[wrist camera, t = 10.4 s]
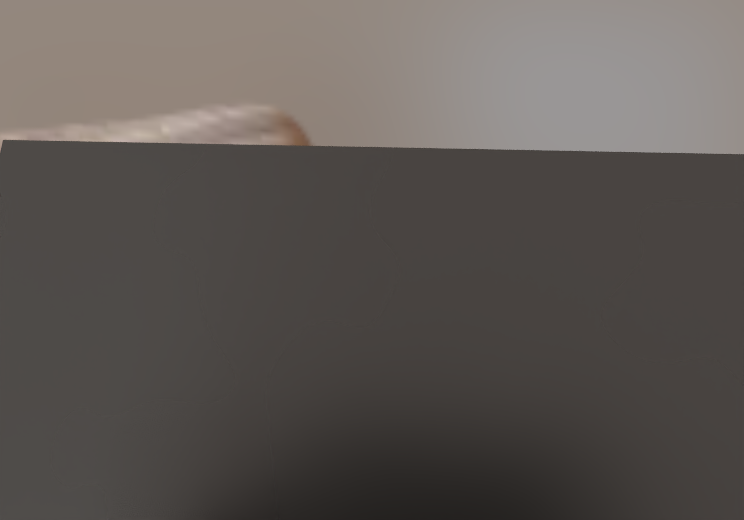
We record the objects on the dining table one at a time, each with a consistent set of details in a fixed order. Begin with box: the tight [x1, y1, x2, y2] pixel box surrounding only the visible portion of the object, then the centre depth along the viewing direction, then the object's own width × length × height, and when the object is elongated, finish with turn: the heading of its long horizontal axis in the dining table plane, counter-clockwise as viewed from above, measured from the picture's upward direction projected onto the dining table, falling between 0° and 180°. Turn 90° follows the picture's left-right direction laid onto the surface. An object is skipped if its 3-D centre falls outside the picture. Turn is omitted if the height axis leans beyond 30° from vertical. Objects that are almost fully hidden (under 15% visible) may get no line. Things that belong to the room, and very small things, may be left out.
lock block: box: [0, 140, 744, 520], centre depth 10 cm, size 6×6×12 cm
